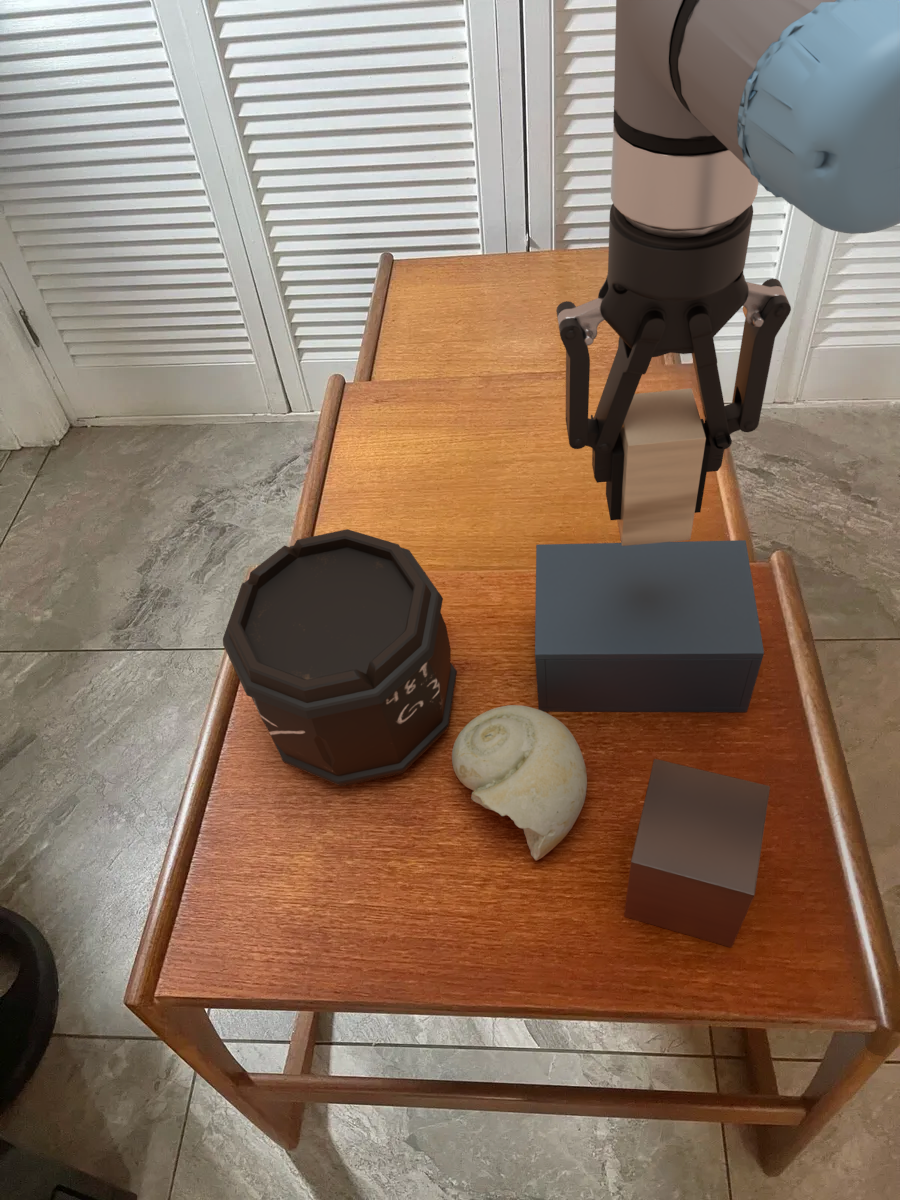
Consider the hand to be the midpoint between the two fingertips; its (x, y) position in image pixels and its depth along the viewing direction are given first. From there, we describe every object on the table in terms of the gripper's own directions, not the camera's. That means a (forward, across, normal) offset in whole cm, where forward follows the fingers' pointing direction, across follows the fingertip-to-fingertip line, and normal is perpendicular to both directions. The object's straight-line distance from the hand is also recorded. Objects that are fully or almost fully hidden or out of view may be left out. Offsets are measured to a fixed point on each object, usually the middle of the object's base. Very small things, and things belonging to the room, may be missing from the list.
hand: (652, 502), depth 66 cm
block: (+2, 0, 0) cm, 2 cm away
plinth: (+21, -1, +21) cm, 29 cm away
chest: (+21, 0, 0) cm, 21 cm away
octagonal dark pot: (+21, +26, +3) cm, 33 cm away
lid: (+12, 0, 0) cm, 12 cm away
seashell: (+21, +11, +12) cm, 27 cm away
